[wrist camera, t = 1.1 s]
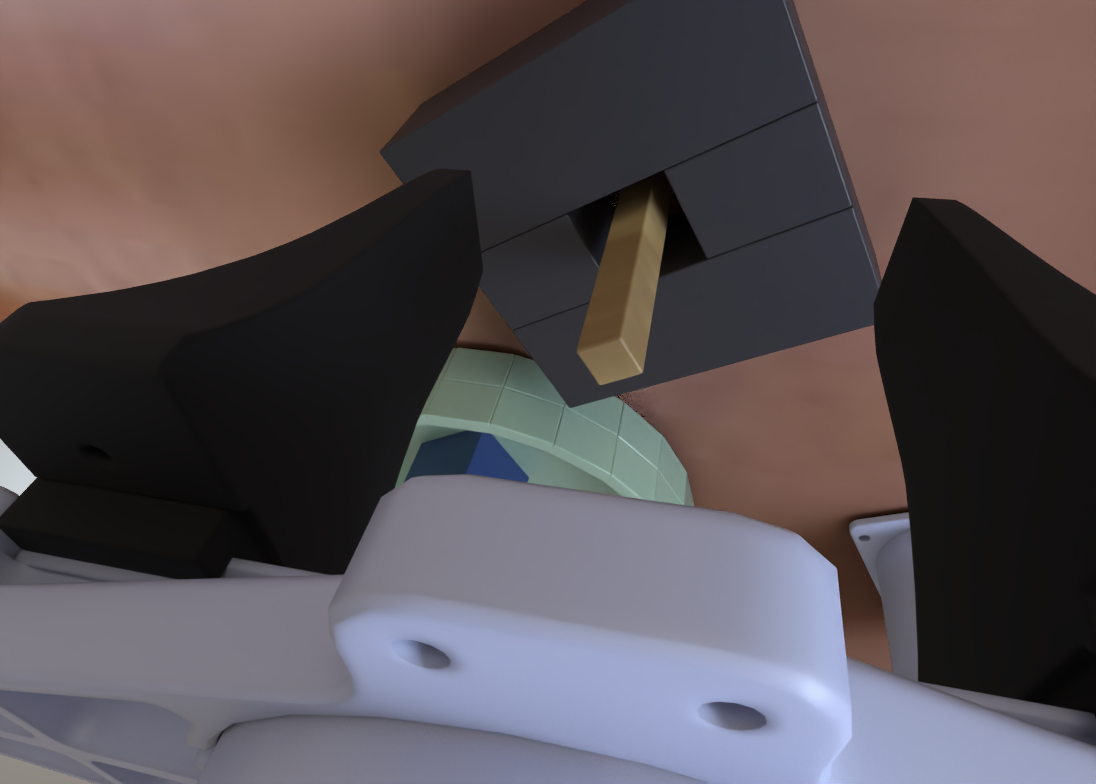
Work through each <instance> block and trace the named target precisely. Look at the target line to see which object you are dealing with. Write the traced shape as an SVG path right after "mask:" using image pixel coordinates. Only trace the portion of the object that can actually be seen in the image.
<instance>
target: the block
mask: <svg viewBox="0 0 1096 784" xmlns="http://www.w3.org/2000/svg"><path fill="white" fill-rule="evenodd" d="M460 474H473V475H480V476H486V477H493V478H500V479H507V480H514V481H521V482H528V480H529V477H528V476H527V474H526V473H525V472H524V471H523V470H522V469H521V467H520V466H519V465H518V464H517V463H516V462H515V461H514V459H513V458H512V457H511V456H510V455H509V454H508V452H507V451H506V450H505V449H504V448H503V447H502V445H501V444H500V443H499V442H498V441H497V440H496V438H495V437H494V436H493V435H492V434H490V433H482V432H475V431H468V430H466V431H463V432H459V433H456V434H452V435H449V436H445V437H442V438H438V439H434V440H431V441H427V442H424V443H422V444H421V445H420V448H419V450H418V452H417V454H416V456H415V459H414V461H413V463H412V465H411V467H410V470H409V472H408V474H407V476H406V478H405V480H404V482H406V481H407V480H409V479H410V478H412V477H418V476H428V475H460Z"/></svg>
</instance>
